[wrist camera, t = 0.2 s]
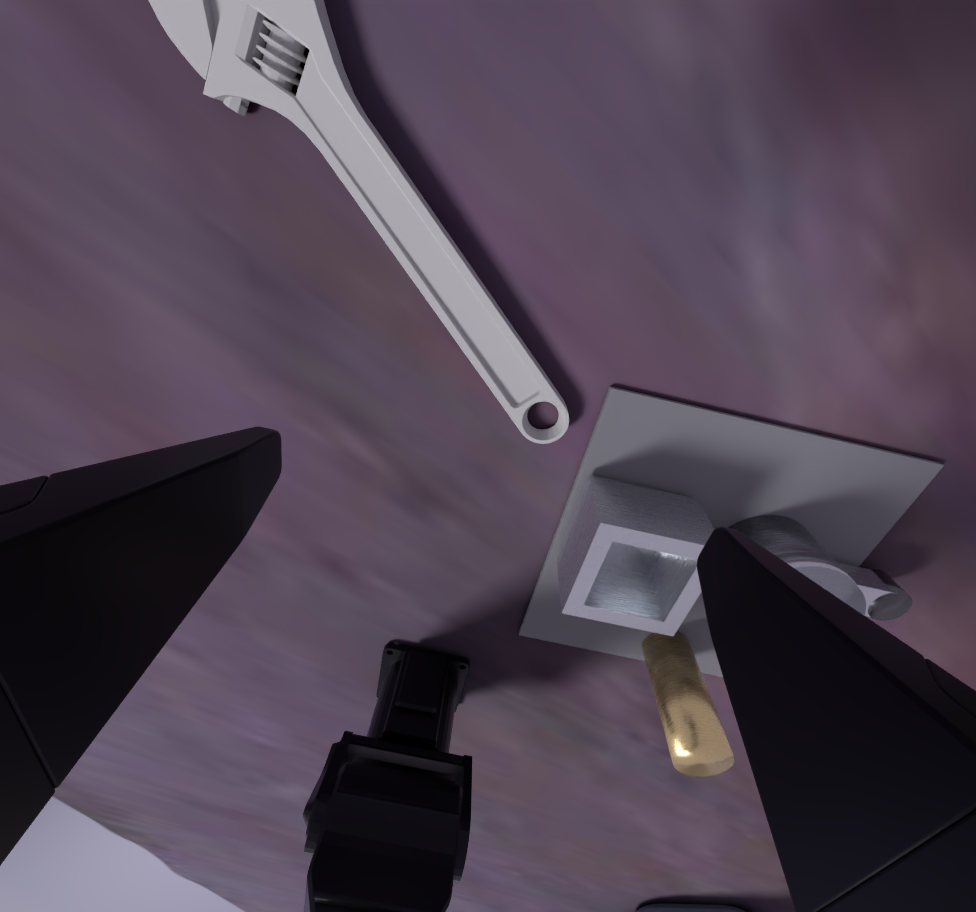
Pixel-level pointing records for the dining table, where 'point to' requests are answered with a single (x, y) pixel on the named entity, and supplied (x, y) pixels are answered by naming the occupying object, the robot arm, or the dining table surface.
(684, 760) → the brass rounded cylinder
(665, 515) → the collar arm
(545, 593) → the mat
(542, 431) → the adjustable wrench
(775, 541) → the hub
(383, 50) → the dining table surface
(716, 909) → the alarm clock
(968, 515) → the dining table surface
